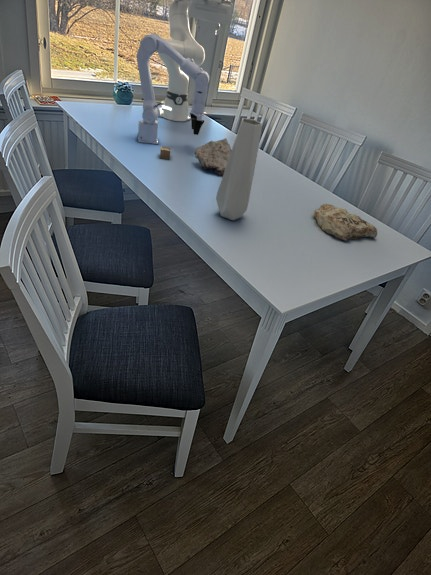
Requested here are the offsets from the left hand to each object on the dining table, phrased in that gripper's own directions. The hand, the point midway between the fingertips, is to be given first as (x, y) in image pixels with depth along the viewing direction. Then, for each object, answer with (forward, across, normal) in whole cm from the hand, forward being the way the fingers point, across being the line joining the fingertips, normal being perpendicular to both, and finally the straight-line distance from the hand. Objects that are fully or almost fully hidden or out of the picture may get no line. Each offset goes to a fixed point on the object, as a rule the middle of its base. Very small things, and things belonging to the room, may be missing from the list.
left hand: (194, 131), depth 180 cm
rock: (+9, -22, -7) cm, 25 cm away
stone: (+9, -66, -50) cm, 83 cm away
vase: (+9, -65, -7) cm, 66 cm away
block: (+9, -14, +14) cm, 22 cm away
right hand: (-38, +26, -4) cm, 46 cm away
